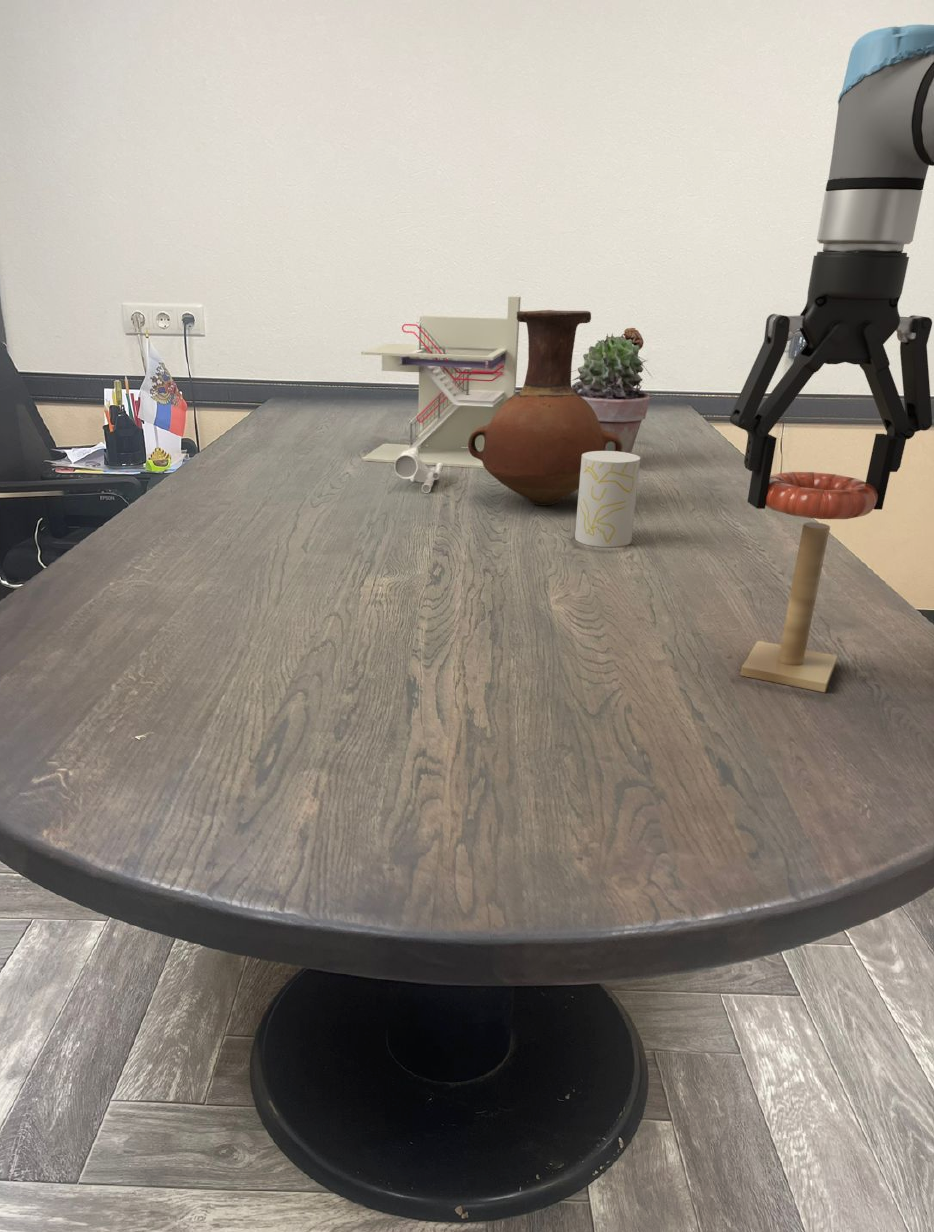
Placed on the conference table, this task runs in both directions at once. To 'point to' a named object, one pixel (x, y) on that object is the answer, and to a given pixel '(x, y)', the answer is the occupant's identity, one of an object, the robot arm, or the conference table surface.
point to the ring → (820, 495)
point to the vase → (543, 417)
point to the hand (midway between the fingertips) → (813, 505)
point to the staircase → (454, 383)
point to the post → (797, 625)
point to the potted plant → (615, 386)
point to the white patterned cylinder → (607, 498)
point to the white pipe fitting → (416, 469)
